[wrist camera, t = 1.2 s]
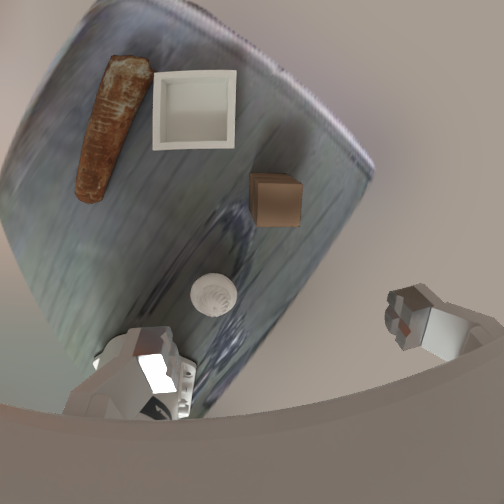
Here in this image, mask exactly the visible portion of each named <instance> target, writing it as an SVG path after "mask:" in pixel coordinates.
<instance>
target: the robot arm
mask: <svg viewBox="0 0 504 504" xmlns="http://www.w3.org/2000/svg"><path fill="white" fill-rule="evenodd" d="M387 301H388V303H389V306H388V308H387V309H386V311H385V324H386V327H387V329H388V331H389V332H390V333H391V334H393V335H396V339H395V341H396V342H397V343H398V344H399V346H400V347H401V349H402V350H403V351H404V350H408V349H411V348H415V347H418V346H421V347H423V348H425V349H426V350H428V351H430V352H431V353H433V354H435V355H437V356H438V357H440V358H442V359H443V360H445V361H447V362H446V363H443V364H441V365H439V366H436V367H434V368H431V369H428V370H426V371H423V372H421V373H418V374H415V375H412V376H410V377H407V378H404V379H401V380H398V381H395V382H391V383H388V384H385V385H382V386H379V387H375V388H372V389H368V390H365V391H361V392H358V393H354V394H350V395H346V396H343V397H338V398H334V399H330V400H326V401H321V402H317V403H312V404H307V405H302V406H297V407H292V408H286V409H281V410H275V411H268V412H261V413H253V414H246V415H237V416H227V417H217V418H203V419H185V420H178V418H183V417H188V415H189V413H190V407H191V400H192V394H193V387H194V381H195V374H196V368H197V366H196V364H195V363H194V362H192V361H191V360H188V359H186V358H184V357H182V356H180V355H179V353H178V348H177V345H176V344H175V343H174V342H173V341H172V338H173V333H172V331H171V328H170V327H169V326H156V327H143V328H142V327H141V328H130V329H129V330H128V332H127V334H123V335H119V336H117V337H115V338H113V339H112V340H110V341H109V342H108V344H107V345H106V347H105V349H104V351H103V352H102V353H101V354H100V355H98V356H96V357H95V358H94V361H93V365H94V367H95V369H96V372H95V373H94V374H93V375H91V376H90V377H89V378H88V379H86V380H85V381H84V382H83V383H81V384H80V385H79V386H78V387H76V388H75V389H74V390H73V391H71V393H70V396H69V398H68V401H67V403H66V405H65V408H64V410H63V413H62V414H56V413H49V412H42V411H36V410H31V409H25V408H21V407H16V406H12V405H7V404H3V403H0V504H504V327H503V326H502V325H501V324H500V323H499V322H498V321H497V320H496V319H495V318H492V317H490V316H487V315H484V314H481V313H477V312H475V311H472V310H469V309H466V308H463V307H460V306H457V305H454V304H451V303H448V302H446V303H444V302H443V301H442V300H441V299H440V298H439V297H437V296H436V295H435V294H434V293H433V292H432V291H431V290H430V289H429V288H428V287H427V286H426V285H425V284H422V283H420V284H416V285H413V286H410V287H406V288H402V289H397V290H393V291H390V292H389V294H388V297H387Z"/></svg>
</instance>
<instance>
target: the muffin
mask: <svg viewBox="0 0 504 504" xmlns="http://www.w3.org/2000/svg"><path fill="white" fill-rule="evenodd" d="M190 297H191V301H192V303H193V305H194V307H195V308H196V309H197V310H198V311H199V312H201V313H203V314H205V315H207V316H211V317H214V316H216V317H218V316H219V315H222V314H225V313H226V312H228V311H229V310H231V309H232V308H233V306H234V305H235V303H236V300H237V290H236V287H235V285H234V284H233V283H232V281H231V280H230V279H228V278H227V277H226V276H223V274H218V273H209V274H205V275H203V276H202V277H200V278H199V279H197V280H196V281H195V282H194V284H193V286H192V288H191V292H190Z"/></svg>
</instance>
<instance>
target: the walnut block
mask: <svg viewBox="0 0 504 504" xmlns="http://www.w3.org/2000/svg"><path fill="white" fill-rule="evenodd" d="M302 192H303V184H302V183H300V182H298V181H297V180H295V179H294V178H292V177H290V176H289V175H287V174H282V173H250V186H249V209H250V212H251V214H252V217H253V219H254V221H255V224H256V226H257V227H300V218H301V205H302Z"/></svg>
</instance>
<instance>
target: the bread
mask: <svg viewBox="0 0 504 504" xmlns="http://www.w3.org/2000/svg"><path fill="white" fill-rule="evenodd" d="M154 73H157V71H155V70H153V69H152V68H150V67H149V60H148V59H146V58H143V57H135V56H132V55H126V56H125V55H124V56H117V55H113V56H111V59H110V61H109V63H108V65H107V67H106V69H105V72H104V75H103V77H102V81H101V83H100V86H99V89H98V92H97V95H96V99H95V103H94V107H93V110H92V113H91V116H90V119H89V123H88V127H87V130H86V134H85V138H84V142H83V147H82V151H81V157H80V162H79V167H78V172H77V178H76V187H75V194H76V196H77V198H78V199H79V200H80V201H82V202H84V203H90V204H92V203H95V202H100V201H102V199H103V197H104V193H105V189H106V186H107V183H108V180H109V177H110V175H111V173H112V170H113V168H114V165H115V162H116V160H117V157H118V154H119V152H120V150H121V147H122V144H123V142H124V140H125V138H126V135H127V133H128V130H129V127H130V125H131V122H132V120H133V118H134V116H135V114H136V112H137V110H138V109H139V107H140V104H141V102H142V100H143V98H144V96H145V94H146V92H147V90H148V89H149V87H150V85H151V83H152V81H153V78H154Z"/></svg>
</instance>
